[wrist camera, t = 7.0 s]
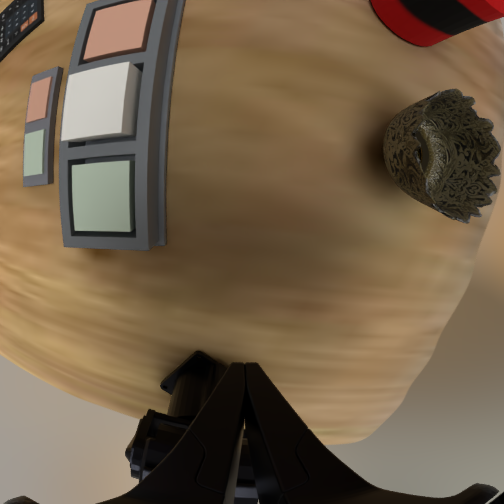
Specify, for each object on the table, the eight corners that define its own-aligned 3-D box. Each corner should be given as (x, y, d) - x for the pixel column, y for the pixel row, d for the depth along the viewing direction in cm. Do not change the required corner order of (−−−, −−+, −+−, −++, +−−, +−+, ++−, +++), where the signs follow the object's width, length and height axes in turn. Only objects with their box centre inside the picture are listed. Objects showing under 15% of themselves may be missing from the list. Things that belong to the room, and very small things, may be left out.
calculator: (45, 21, 12) (29, 12, 9) (-22, 90, 13) (-39, 89, 10) (45, -21, 9) (32, -30, 6) (-20, 41, 10) (-34, 37, 7)
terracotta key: (151, 59, 14) (141, 47, 12) (98, 68, 14) (83, 59, 12) (160, 12, 13) (152, -2, 11) (108, 22, 13) (96, 11, 11)
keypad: (166, 243, 19) (155, 257, 16) (80, 240, 19) (60, 252, 16) (185, -1, 13) (178, -20, 10) (99, 15, 13) (83, 2, 10)
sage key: (142, 223, 18) (130, 231, 16) (91, 222, 18) (74, 230, 16) (142, 160, 17) (129, 160, 14) (89, 164, 16) (72, 165, 14)
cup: (338, 162, 18) (397, 164, 10) (381, 88, 16) (446, 62, 9) (406, 217, 19) (473, 246, 12) (442, 148, 18) (511, 152, 10)
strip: (53, 183, 17) (45, 184, 16) (28, 185, 17) (21, 187, 16) (63, 68, 14) (56, 65, 13) (37, 77, 14) (30, 75, 13)
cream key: (136, 135, 15) (121, 132, 13) (80, 142, 15) (61, 140, 12) (142, 72, 14) (129, 61, 11) (86, 82, 13) (68, 75, 11)
